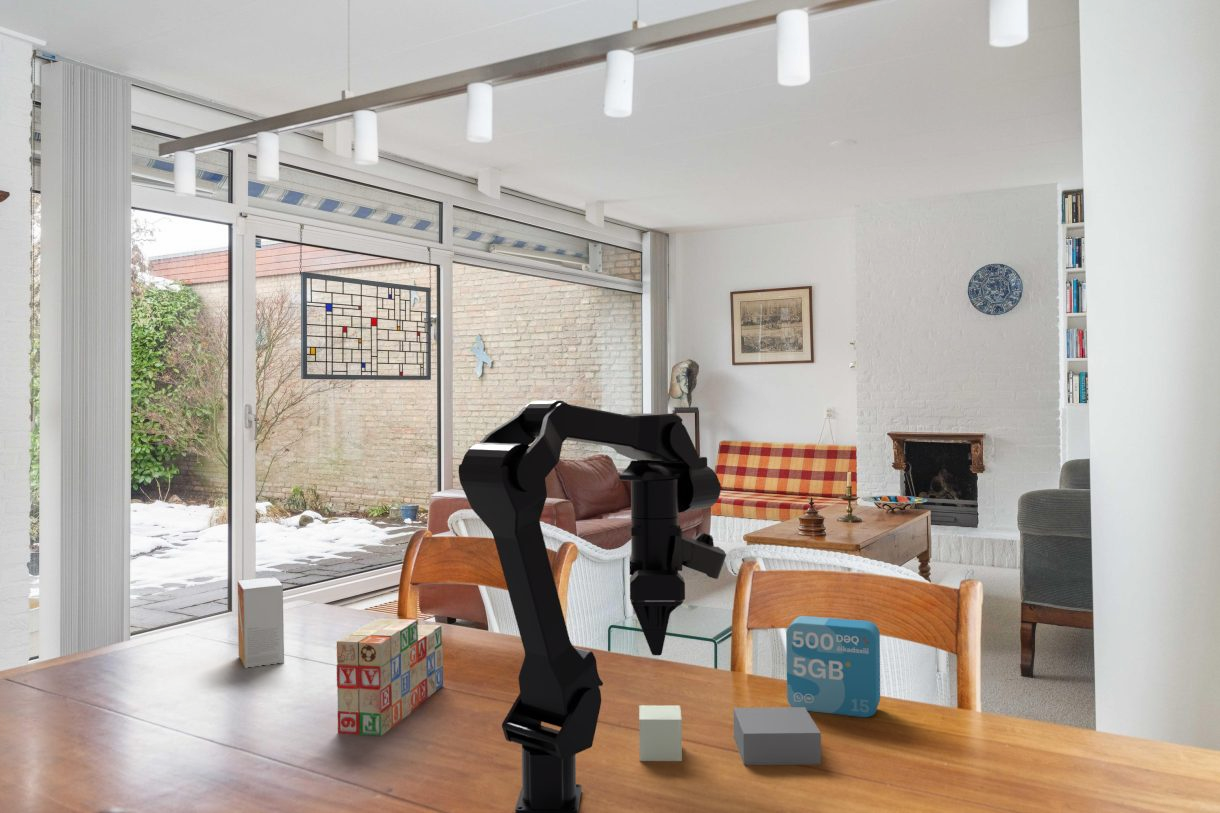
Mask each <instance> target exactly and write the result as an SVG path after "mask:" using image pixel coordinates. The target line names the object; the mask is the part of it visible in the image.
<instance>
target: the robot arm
mask: <svg viewBox="0 0 1220 813" xmlns="http://www.w3.org/2000/svg"><path fill="white" fill-rule="evenodd" d="M565 441H572V442H578V443H585V444H589V445H590V444H592V445H598V446H606V447H609V448H611V449H613V450H615V452H616V453H617V454H619V455H620V456H621V455H622V456H623V457H626V458H628V459H630V460H631V461H630V463H629V465H628V466H627V467H626V468H625V469H623V471H621V473H620V474H619V475H618V476H619V477H618V478H619V480H620V481H625V482H628V481H629V482H630V509H631V515H630V520H631V521H630V522H631V523H630V528H631V529H630V532H631V534H630V536H631V538H630V539H631V540H630V543H631V546H630V548H631V551H630V552H631V555H630V556H629V601H630V604H631V606H632V608H633V611H634V612H635V613H634V614H635V616H636V618H637V620H638V624H639V626H640V628H641V630H642V633H643V635H644V638H645V640H646V643H647V645H648V647H649V651H650V653H651V655H652V656H661V655H662V653H663V650H664V645H665V639H666V636H667V629H668V624H669V620H670V616H671V613H673V611H674V610H676V609H677V608H678V607H680V606H681V605H682V604H683V603H684V601H685V600H686V582H685V579H684V577H683V575H681V574H680V573H679V572H681V571H682V572H683V566H684V567H685V568H688V569H692V570H693V571H697V572H700V573H702V574H705V575H706V576H707V577H709V578H712V579H715V580H718V579H719V576H720V574H721V571H722V568H723V566H724V563H725V560H726V557H727V553H726V551H725V550H724V549H723V548H721V547H719V546H715V544H714V537H713V536H712V535H711V534H708V533H705V532H703V531H701V532H699V533H698V534H696V536H695V537H694V538H693V537H692V536H689V537H688V536H686V535H683V530H682V528H681V525H680V524H679V513H685V512H692V511H699V510H704V509H710V508H711V507H713V506H714V505H715V504H717V502H718V500H720V496H721V491H722V490H721V488H722V486H721V483H720V480H719V477H718V475H717V474H716V472H715V471H714V470H713V469H712V468H711V467H709V466H708V457H707V456H699V454H698V452H697V450H696V448H695V445H694V443H693V441H692V438H691V436H690V434H689V432H688V430H687V427H685V425H684V424H683V419H682V417H681V416H680V415H679V414H677V413H642V412H641V413H638V412H637V413H625V414H624V413H623V414H622V413H616V412H611V411H605V410H600V409H595V408H591V407H584V406H578V405H573V404H569V403H566V402H565V401H564V400H533V401H531V402H530V403H528V404H526V405H525V406H523V408H522V409H520V410H519V412H518V413H517V414H515V416H514V417H512V418H510V419H509V420H507V421H506V422H504V423H503V424H501V425H500V426H498V427H496V428H495V429H493V430H492V431H490V432H489V433H487V434H486V435H485V437H483V438H482V440H481V441H480V442H479V443H476V444H473V445H471V447H470V448H468V450H467V451H466V453H465V454H464V456H463V457H462V460H461V463H460V464H459V465H458V479H459V482H460V485H461V488H462V490H463V492H464V494H465V496H466V499H467V501H468V503H469V505H470V507H471V509H472V511H473V512H474V513H475V515H476V516H478V518H479V519H480V521H482V522H483V523H484V525H485V526H486V527H487V529H488V530H490V532H491V534H492V536H493V540H494V544H495V547H496V551H497V554H498V558H499V561H500V562H499V563H500V565H501V569H502V573H503V576H504V577H503V578H504V580H505V584H506V588H507V590H508V595H509V598H510V602H511V606H512V609H513V613H514V617H515V621H516V625H517V628H518V632H519V636H520V640H521V643H522V647H523V651H524V658H523V662H522V663H521V664H522V665H521V667H520V670H519V672H518V686H519V694H518V696H517V698H516V699H515V701H514V703H513V704H512V706H511V708H510V710H509V711H508V712H507V714H506V716H505V718H504V719H503V721H502V723H501V729H502V731H503V735H504V738H505V740H506V741H507V742H509V743H510V742H513V743H514V744H518V745H521V775H522V776H521V783H522V785H521V789H520V792H519V796H518V799H517V802H516V805H515V810H514V811H515V813H579V808H580V803H581V802H580V801H581V796H582V788H583V787H582V784H578V783H577V767H576V766H577V765H576V764H577V762H576V759H577V756H576V755H577V754H578V753H579V754H580V753H581V752H584V751H586V750H587V749H588V750H589V749H590V748H592V747H593V744H594V743H593V742H594V741H595V740H594V739H595V734H596V728H597V725H598V722H599V721H598V720H599V716H600V715H599V714H600V712H601V705H602V693H601V689H600V687H603V686H604V682H603V680H602V679H601V678H600V675H599V672H598V666H597V659H596V657H595V655H594V653H593V652H592V651H591V650H587V649H586V650H585V649H582V648H577V647H575V646H574V645H573V643H572V642H571V639H570V634H569V631H568V627H567V624H566V620H565V616H564V613H563V609H562V604H561V601H560V595H559V592H558V588H557V585H556V581H555V577H554V573H553V569H552V566H551V562H550V561H551V560H550V558H549V554H548V549H547V545H546V542H545V539H544V534H543V530H542V527H541V526H542V525H541V517H542V514H543V510H544V507H545V504H546V501H547V496H548V490H547V484H546V483H547V482H546V478H547V476H548V475H549V474H550V473H551V472H552V471H553V469H554V468H555V467H556V466H557V465H558V463H559V462H560V459H561V453H562V448H563V447H562V446H563V443H564V442H565ZM542 723H545V724H548V725H552V726H555V727H558V728H559V729H560V730H558V729H554V728H552V727H548V726H545V725H542Z"/></svg>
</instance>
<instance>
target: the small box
mask: <svg viewBox="0 0 1220 813" xmlns="http://www.w3.org/2000/svg"><path fill="white" fill-rule="evenodd" d="M283 590H284V587H283V584H282V582H280V580H278V578H277V577H276V576H275V577H261V578H253V579H252V578H251V579H243V580H237V621H238V622H237V624H238V625H237V626H238V629H237V630H238V632H237V636H238V637H237V638H238V657H239V659H240V660H241V662H242V665H243V667H244V669H249V668H248V667H252V668H256V667H255V666H259V667H263V666H262V665H266V666H271V665H270V664H274V665H278V664H277V663H280V664H284V663H285V639H284V638H285V636H284V634H285V632H284V627H285V626H284V591H283ZM283 662H284V663H283Z"/></svg>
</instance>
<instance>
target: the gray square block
mask: <svg viewBox="0 0 1220 813" xmlns="http://www.w3.org/2000/svg"><path fill="white" fill-rule="evenodd" d="M811 716H812V715H810V713H809V711H807V710H806V708H805V707H792V706H786V707H785V706H784V707H781V706H779V707H776V706H775V707H773V706H772V707H767V706H766V707H733V739H734V742H735V744H736V747H737V750H738V753H739V755H740V758H741V761H742V765H743V766H770V765H771V766H778V765H779V766H783V765H788V766H791V765H796V766H799V765H821V764H822V733H821V731H820V729H819V728H818V726H817V724H816V723H815V721H814V719H813V718H812V717H811Z"/></svg>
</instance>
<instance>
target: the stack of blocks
mask: <svg viewBox="0 0 1220 813" xmlns="http://www.w3.org/2000/svg"><path fill="white" fill-rule="evenodd" d="M442 630H443V629H442V625H441V624H438V625H437V624H419V623H418V619H410V618H409V619H405V618H402V619H401V618H397V619H396V618H376V619H375V620H372V621H371V622H369V623H367V624H365V625H364V626H361V627H360V628H359V629H356V630H355V631H353V632H351V633H350V634H348V635H346V636H343V637H341V638H340V639H338V640H336V663H337V664H336V688H337V690H336V691H337V734H348V735H362V736H364V735H365V736H378V737H380V736H381V737H382V736H383V735H384V734H386V733H387V732H388V731H389V730H391V729H393V728H394V727H395V726H396V725H398V723H400V722H401V721H402V720H404V719H405V718H406V717H408V716H409V715H410V714H411V713H412V712H413V711H414V710H415V709H416V708H417V707H418V706H419V705H421V703H423V702H424V701H426V700H427V699H429V697H431V696H432V695H433V694H434V693H436V692H437V691H438V690H439V689H440V688H442V687H443V686H444V666H443V665H444V650H443V639H442V638H443V637H442V636H443V634H442Z"/></svg>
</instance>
